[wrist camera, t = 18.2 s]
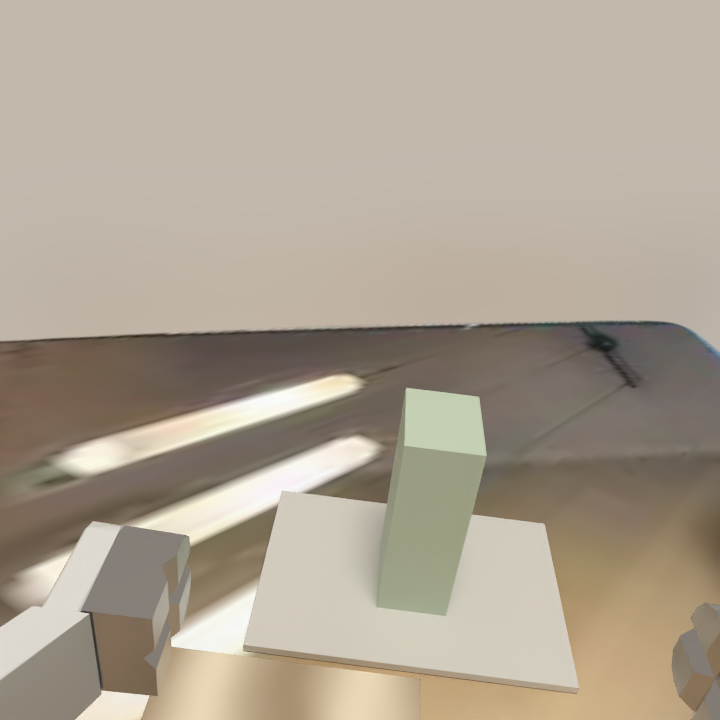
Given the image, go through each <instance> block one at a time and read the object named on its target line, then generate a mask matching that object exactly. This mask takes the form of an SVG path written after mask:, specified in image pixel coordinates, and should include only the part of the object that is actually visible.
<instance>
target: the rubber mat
mask: <svg viewBox="0 0 720 720" xmlns="http://www.w3.org/2000/svg"><path fill="white" fill-rule="evenodd" d="M386 507H387V504H383V503H375V502H368V501H360V500H352V499H344V498H336V497H328V496H320V495H312V494H304V493H296V492H288V491H282V493H281V497H280V501H279V505H278V509H277V513H276V517H275V521H274V525H273V529H272V533H271V537H270V541H269V545H268V549H267V553H266V557H265V561H264V565H263V569H262V573H261V577H260V581H259V585H258V589H257V593H256V597H255V601H254V605H253V609H252V613H251V617H250V621H249V625H248V629H247V633H246V637H245V641H244V651H250V652H258V653H266V654H273V655H281V656H289V657H297V658H305V659H312V660H320V661H328V662H336V663H343V664H351V665H359V666H367V667H374V668H382V669H390V670H398V671H405V672H413V673H421V674H429V675H436V676H444V677H452V678H460V679H468V680H475V681H483V682H491V683H499V684H506V685H514V686H522V687H530V688H537V689H545V690H553V691H561V692H568V693H576V694H577V692H578V689H579V685H578V680H577V676H576V671H575V666H574V661H573V657H572V652H571V647H570V643H569V638H568V633H567V628H566V624H565V619H564V614H563V609H562V605H561V600H560V595H559V590H558V586H557V581H556V576H555V572H554V567H553V562H552V557H551V553H550V548H549V543H548V538H547V534H546V529H545V524H542V523H534V522H526V521H518V520H510V519H502V518H494V517H486V516H478V515H471V519H470V523H469V527H468V531H467V535H466V539H465V542H464V546H463V550H462V554H461V558H460V562H459V566H458V570H457V574H456V578H455V582H454V585H453V589H452V593H451V597H450V601H449V605H448V609H447V613H446V616H441V615H433V614H425V613H417V612H409V611H401V610H394V609H386V608H378V607H377V594H378V578H379V563H380V547H381V538H382V532H383V526H384V520H385V514H386Z"/></svg>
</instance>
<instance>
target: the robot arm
mask: <svg viewBox="0 0 720 720" xmlns="http://www.w3.org/2000/svg"><path fill="white" fill-rule="evenodd" d="M189 553H190V542H189V536H186V535H181V534H174V533H168V532H162V531H156V530H149V529H143V528H137V527H130V526H122V525H115V524H109V523H102V522H95V521H93V522H92V523H91V524H90V525H89V526H88V527H87V528H86V529H85V530H84V532H83V534H82V536H81V537H80V539H79V541H78V543H77V545H76V546H75V548H74V550H73V552H72V554H71V555H70V557H69V559H68V561H67V563H66V565H65V566H64V568H63V570H62V572H61V574H60V575H59V577H58V579H57V581H56V583H55V584H54V586H53V588H52V590H51V592H50V594H49V595H48V597H47V599H46V601H45V603H44V604H43V606H42V607H39V606H31V607H30V608H28V609H27V610H25V611H24V612H22V613H21V614H19V615H18V616H16V617H15V618H13V619H12V620H10V621H9V622H7V623H6V624H4V625H3V626H1V627H0V720H75V719H76V718H77V717H78V716H79V715H80V714H81V713H82V712H83V711H84V710H85V709H86V708H87V707H88V706H89V705H90V704H92V703H93V702H94V701H95V700H96V699H97V698H98V697H99V696H100V695H101V690H103V691H113V692H122V693H132V694H142V695H152V696H158V694H159V691H160V688H161V685H162V682H163V680H164V677H165V674H166V671H167V668H168V665H169V662H170V659H171V637H172V636H174V635H175V634H176V633H177V632H179V631H180V629H181V626H182V623H183V619H184V616H185V613H186V608H187V604H188V599H189V594H190V583H191V571H190V569H189V568H188V567H187V566H186V565H185V564H186V562H187V559H188V556H189ZM691 619H692V622H693V624H694V627H695V628H694V629H692V630H690V631H688V632H686V633H684V634H682V635H680V637H679V639H678V641H677V643H676V645H675V647H674V649H673V658H672V672H673V679H674V683H675V686H676V689H677V692H678V695H679V697H680V698H681V699H682V700H683V701H684V702H685V703H686V704H687V705H688V706H689V707H690V708H691V709H692V710H693V714H692V717H691V719H690V720H720V605H716V604H708V603H704V604H702V605H701V606H699V607H697V608H696V610H695V612H694V613H693V615H692V617H691Z"/></svg>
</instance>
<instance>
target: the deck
mask: <svg viewBox="0 0 720 720" xmlns="http://www.w3.org/2000/svg"><path fill="white" fill-rule="evenodd" d="M141 720H421V679H417V678H409V677H401V676H393V675H385V674H378V673H370V672H362V671H354V670H347V669H339V668H331V667H323V666H316V665H308V664H300V663H292V662H285V661H277V660H269V659H261V658H254V657H246V656H238V655H230V654H223V653H215V652H207V651H199V650H192V649H184V648H176V647H171V659H170V662H169V665H168V668H167V671H166V674H165V677H164V680H163V682H162V685H161V688H160V691H159V694H158V696H152V695H150V696H149V699H148V702H147V705H146V708H145V710H144V713H143V716H142V719H141Z"/></svg>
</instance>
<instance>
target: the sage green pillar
mask: <svg viewBox="0 0 720 720" xmlns="http://www.w3.org/2000/svg"><path fill="white" fill-rule="evenodd" d="M486 457H487V455H486V447H485V439H484V432H483V424H482V416H481V409H480V401H479V397H476V396H468V395H459V394H451V393H443V392H435V391H427V390H419V389H411V388H406V391H405V398H404V404H403V410H402V416H401V422H400V428H399V434H398V440H397V446H396V452H395V459H394V465H393V471H392V477H391V483H390V489H389V495H388V501H387V507H386V514H385V520H384V526H383V532H382V538H381V547H380V563H379V578H378V594H377V607H378V608H386V609H394V610H401V611H409V612H417V613H425V614H433V615H441V616H446V613H447V609H448V605H449V601H450V597H451V593H452V589H453V585H454V582H455V578H456V574H457V570H458V566H459V562H460V558H461V554H462V550H463V546H464V542H465V539H466V535H467V531H468V527H469V523H470V519H471V515H472V511H473V507H474V503H475V499H476V496H477V492H478V488H479V484H480V480H481V476H482V472H483V468H484V464H485V460H486Z"/></svg>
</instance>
